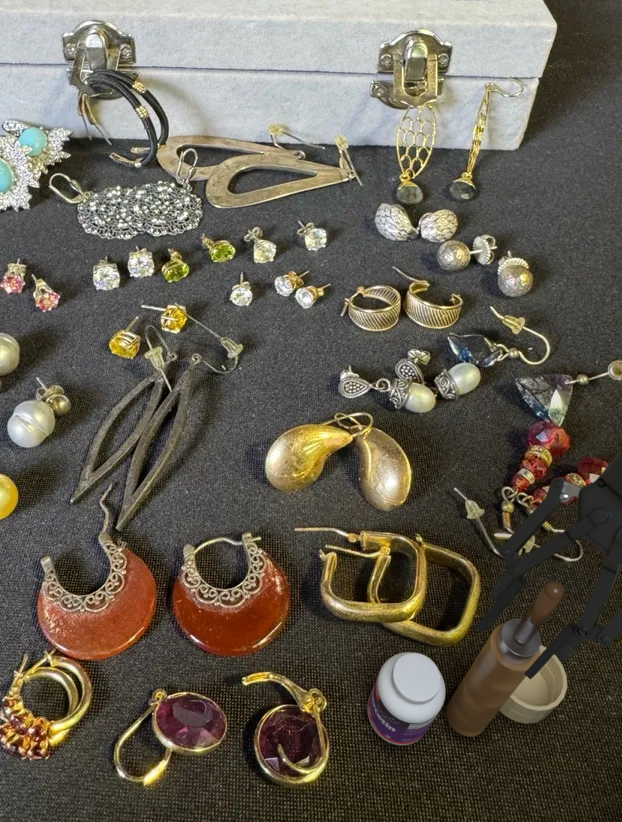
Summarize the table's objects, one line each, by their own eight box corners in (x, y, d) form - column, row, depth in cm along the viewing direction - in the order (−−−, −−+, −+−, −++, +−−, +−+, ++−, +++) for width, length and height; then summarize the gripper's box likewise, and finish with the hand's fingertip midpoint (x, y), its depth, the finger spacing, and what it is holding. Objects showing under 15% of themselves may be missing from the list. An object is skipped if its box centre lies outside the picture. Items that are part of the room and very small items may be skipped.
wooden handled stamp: (538, 639, 87) (583, 579, 75) (527, 672, 84) (572, 615, 73) (502, 621, 88) (541, 559, 77) (490, 652, 86) (529, 594, 74)
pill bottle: (356, 693, 106) (370, 652, 95) (412, 674, 108) (432, 632, 97) (381, 757, 101) (399, 722, 90) (439, 736, 102) (463, 699, 92)
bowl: (560, 678, 107) (574, 661, 103) (542, 738, 102) (556, 723, 98) (498, 645, 110) (509, 628, 106) (477, 702, 105) (488, 687, 101)
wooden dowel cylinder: (492, 707, 105) (546, 637, 87) (479, 744, 102) (531, 680, 84) (454, 686, 107) (499, 613, 88) (440, 723, 104) (483, 655, 85)
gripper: (755, 537, 74) (590, 714, 79) (584, 412, 83) (447, 579, 88) (754, 543, 67) (576, 736, 73) (569, 408, 76) (423, 588, 82)
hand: (506, 649), depth 80 cm, fingers open, 5 cm apart
